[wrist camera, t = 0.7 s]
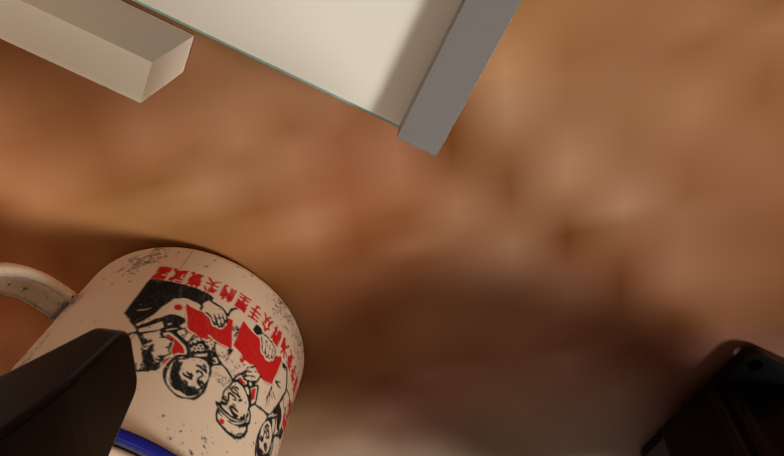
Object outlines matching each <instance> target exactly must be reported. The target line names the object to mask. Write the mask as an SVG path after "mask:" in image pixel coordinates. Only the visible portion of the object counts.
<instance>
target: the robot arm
mask: <svg viewBox="0 0 784 456" xmlns="http://www.w3.org/2000/svg"><path fill="white" fill-rule="evenodd" d="M753 360H757V361H755V362H754V363H750V364H748V363H749V362H751V361H753ZM136 386H137V375H136V368H135V362H134V355H133V349H132V342H131V338H130V336H129V334H128V333H127V332H125V331H122V330H115V329H107V328H95V329H93V330H90V331H88V332H87V333H85V334H83V335H81V336H79V337H77V338H75V339H73V340H71V341H69V342H67V343H65V344H63V345H61V346H59V347H57V348H55V349H53V350H51V351H49V352H47V353H45V354H43V355H41V356H40V357H38V358H36V359H34V360H32V361H30V362H28V363H26V364H24V365H22V366H20V367H18V368H16V369H14V370H12V371H10V372H8V373H6V374H4V375H2V376H0V456H109V453H110V451H111V449H112V446H113V444H114V442H115V439H116V437H117V435H118V432H119V430H120V428H121V425H122V423H123V421H124V418H125V416H126V414H127V411H128V409H129V407H130V404H131V402H132V400H133V397H134V394H135V391H136ZM640 456H784V359H782V358H780V357H778V356H776V355H774V354H772V353H770V352H767V351H765V350H763V349H761V348H758V347H748V348H745V349H743V350H741V351H740V352H739V353H738V354H737V355H736V356H735V357H734V358H733V359H732V360H731V361H730V362H729V363H728V364H727V365H726V366H724V367H723V368H722V369H721V370H720V371H719V372H718V373H717V374H716V375H715V376H714V377H713V378H712V379H711V380H710V381H709V382H708V383H707V384H706V385H705V386H704V387H703V388H702V389H701V390H700V391H699V392H698V393H697V394H696V395H695V396H694V397H693V398H692V399H691V400H690V401H689V402H688V403H687V404H686V405H685V406H684V407H683V408H682V409H681V410H680V411H679V412H678V413H677V414H676V415H675V416H674V417H673V418H672V419H671V420H670V421H669V422H668V423H667V424H666V425H665V426H664V427H663V428H662V429H661V430H660V431H659V432H658V433H657V434H656V435H655V436H654V437H653V438H652V439H651V440H650V441H649V442H648V443H647V444H646V445H645V446H644V447H643V448H642V449H641V451H640Z"/></svg>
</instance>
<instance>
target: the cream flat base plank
mask: <svg viewBox="0 0 784 456" xmlns="http://www.w3.org/2000/svg"><path fill="white" fill-rule="evenodd" d="M0 39H2V40H5V41H7V42H9V43H11V44H13V45H15V46H18V47H20V48H22V49H24V50H26V51H28V52H31V53H33V54H35V55H37V56H39V57H41V58H44V59H46V60H48V61H50V62H52V63H54V64H57V65H59V66H61V67H63V68H65V69H68V70H70V71H72V72H74V73H76V74H78V75H81V76H83V77H85V78H87V79H89V80H91V81H94V82H96V83H98V84H100V85H102V86H104V87H107V88H109V89H111V90H113V91H115V92H118V93H120V94H122V95H124V96H126V97H128V98H131V99H133V100H135V101H137V102H139V103H142V102H143V101H144V100H146V99H147V98H148V97H150V96H151V95H153V94H154V93H155V92H157V91H158V90H159V89H161V88H162V87H163V86H165V85H166V84H167V83H169V82H170V81H172V80H173V79H174V78H176V77H177V76H178V75H180V74H181V73H182V72H183V71H184V68H185V65H186V61H187V58H188V55H189V52H190V48H191V45H192V42H193V39H194V35H192V34H190V33H188V32H186V31H184V30H182V29H180V28H178V27H175V26H173V25H171V24H169V23H167V22H165V21H163V20H161V19H159V18H157V17H155V16H153V15H151V14H148V13H146V12H144V11H142V10H140V9H138V8H136V7H134V6H132V5H130V4H128V3H126V2H123V1H121V0H0Z"/></svg>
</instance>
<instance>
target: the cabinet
mask: <svg viewBox="0 0 784 456" xmlns="http://www.w3.org/2000/svg"><path fill="white" fill-rule="evenodd" d="M132 1H134V2H136V3H138V4H140V5H142V6H145V7H147V8H149V9H151V10H153V11H155V12H157V13H159V14H161V15H163V16H166V17H168V18H170V19H172V20H174V21H176V22H178V23H180V24H182V25H184V26H187V27H189V28H191V29H193V30H195V31H197V32H199V33H201V34H203V35H205V36H208V37H210V38H212V39H214V40H216V41H218V42H220V43H222V44H224V45H226V46H229V47H231V48H233V49H235V50H237V51H239V52H241V53H243V54H245V55H247V56H250V57H252V58H254V59H256V60H258V61H260V62H262V63H264V64H266V65H268V66H271V67H273V68H275V69H277V70H279V71H281V72H283V73H285V74H287V75H289V76H292V77H294V78H296V79H298V80H300V81H302V82H304V83H306V84H308V85H310V86H313V87H315V88H317V89H319V90H321V91H323V92H325V93H327V94H329V95H331V96H334V97H336V98H338V99H340V100H342V101H344V102H346V103H348V104H350V105H352V106H355V107H357V108H359V109H361V110H363V111H365V112H367V113H369V114H371V115H373V116H376V117H378V118H380V119H382V120H384V121H386V122H388V123H390V124H392V125H394V126H397V127H399V129H398V134H397V138H398V139H401V140H403V141H405V142H407V143H409V144H411V145H413V146H415V147H417V148H420V149H422V150H424V151H426V152H428V153H430V154H432V155H434V156H436V155H437V154H438V152H439V150H440V148H441V147H442V145H443V143H444V141H445V139H446V137H447V136H448V134H449V132H450V130H451V128H452V127H453V125H454V123H455V121H456V119H457V117H458V116H459V114H460V112H461V110H462V108H463V106H464V105H465V103H466V101H467V99H468V97H469V96H470V94H471V92H472V90H473V88H474V86H475V85H476V83H477V81H478V79H479V77H480V75H481V74H482V72H483V70H484V68H485V66H486V65H487V63H488V61H489V59H490V57H491V55H492V54H493V52H494V50H495V48H496V46H497V44H498V43H499V41H500V39H501V37H502V35H503V34H504V32H505V30H506V28H507V26H508V24H509V23H510V21H511V19H512V17H513V15H514V13H515V12H516V10H517V8H518V6H519V4H520V3H521V1H522V0H132Z"/></svg>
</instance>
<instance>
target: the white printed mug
mask: <svg viewBox="0 0 784 456" xmlns="http://www.w3.org/2000/svg"><path fill="white" fill-rule="evenodd" d="M0 295H4V296H9V297H12V298H15V299H18V300H20V301H23V302H25V303H27V304H29V305H30V306H32V307H34V308H35V309H37V310H39V311H40V312H42V313H43V314H45V315H46V316H47V317H49V318H50V319H52V320H53V323H52V324H51V325H50V327H49V328H48V329H47V330H46V331H45V332H44V333H43V334H42V336H41V337H40V338H39V339H38V340H37V341H36V342H35V343H34V344H33V346H32V347H31V348H30V349H29V350H28V351H27V352H26V353H25V355H24V356H23V357H22V358H21V359H20V360H19V361H18V362H17V364H16V365H15V366H14V367H13V368H12V369H11V370H10V371H12V370H14V369H16V368H18V367H20V366H22V365H24V364H26V363H28V362H30V361H32V360H34V359H36V358H38V357H40V356H41V355H43V354H45V353H47V352H49V351H51V350H53V349H55V348H57V347H59V346H61V345H63V344H65V343H67V342H69V341H71V340H73V339H75V338H77V337H79V336H81V335H83V334H85V333H87V332H88V331H90V330H93V329H95V328H107V329H115V330H122V331H125V332H127V333H128V334H129V336H130V338H131V342H132V349H133V355H134V362H135V368H136V375H137V386H136V391H135V394H134V397H133V400H132V402H131V404H130V407H129V409H128V411H127V414H126V416H125V418H124V421H123V423H122V425H121V428H120V430H119V432H118V435H117V437H116V439H115V442H114V444H113V446H112V449H111V451H110V453H109V456H278V453H279V449H280V446H281V443H282V440H283V436H284V433H285V430H286V427H287V423H288V420H289V417H290V413H291V410H292V407H293V404H294V400H295V397H296V394H297V391H298V387H299V384H300V381H301V378H302V373H303V368H304V347H303V342H302V338H301V335H300V331H299V328H298V326H297V324H296V321H295V319H294V317H293V316H292V314H291V312H290V310H289V309H288V308H287V306H286V305H285V303H284V302H283V301H282V300H281V298H280V297H279V296H278V295H277V294H276V293H275V292H274V291H273V290H272V289H271V288H270V287H269V286H268V285H267V284H266V283H265V282H263V281H262V280H261V279H260V278H258V277H257V276H256V275H254V274H253V273H251V272H250V271H248V270H247V269H245V268H243V267H242V266H240V265H238V264H236V263H234V262H232V261H230V260H227V259H225V258H222V257H220V256H217V255H214V254H211V253H208V252H204V251H199V250H195V249H189V248H180V247H158V248H149V249H145V250H140V251H136V252H133V253H130V254H127V255H125V256H122V257H120V258H118V259H116V260H115V261H113V262H111V263H110V264H108V265H107V266H106V267H104V268H103V269H102V270H101V271H99V272H98V273H97V274H96V275H95V276H94V277H93V279H92V280H91V281H90V282H89V283H88V284H87V285H86V286H85V288H84V289H83V290H82V291H81V292H80V293H79V294H77V293H76V292H74V291H73V290H71V289H70V288H69V287H67V286H66V285H64V284H63V283H62V282H60V281H58V280H57V279H55V278H53V277H52V276H50V275H48V274H46V273H44V272H42V271H40V270H37V269H35V268H32V267H29V266H25V265H21V264H16V263H7V262H0ZM10 371H9V372H10Z"/></svg>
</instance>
